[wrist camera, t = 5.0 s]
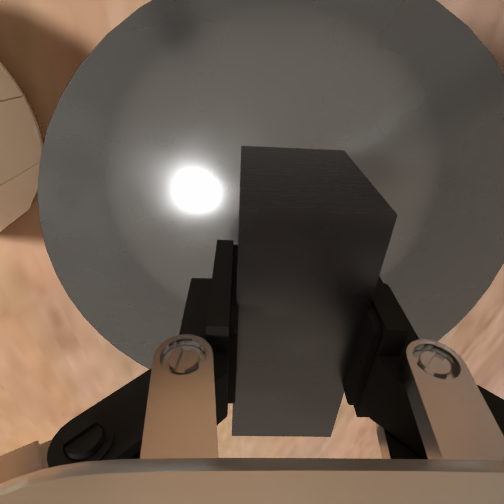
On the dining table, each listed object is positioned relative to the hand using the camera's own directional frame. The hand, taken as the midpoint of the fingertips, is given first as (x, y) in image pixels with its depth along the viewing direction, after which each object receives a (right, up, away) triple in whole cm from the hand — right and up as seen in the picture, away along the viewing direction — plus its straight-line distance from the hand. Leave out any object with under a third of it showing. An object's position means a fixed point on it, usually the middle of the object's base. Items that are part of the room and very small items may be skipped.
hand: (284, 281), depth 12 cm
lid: (0, +1, +2) cm, 2 cm away
